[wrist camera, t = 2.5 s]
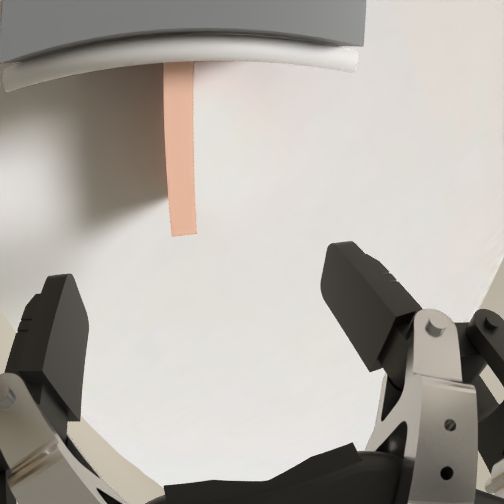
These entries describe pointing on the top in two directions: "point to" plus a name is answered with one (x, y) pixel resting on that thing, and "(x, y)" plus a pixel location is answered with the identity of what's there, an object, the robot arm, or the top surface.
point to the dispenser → (173, 34)
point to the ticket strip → (179, 145)
